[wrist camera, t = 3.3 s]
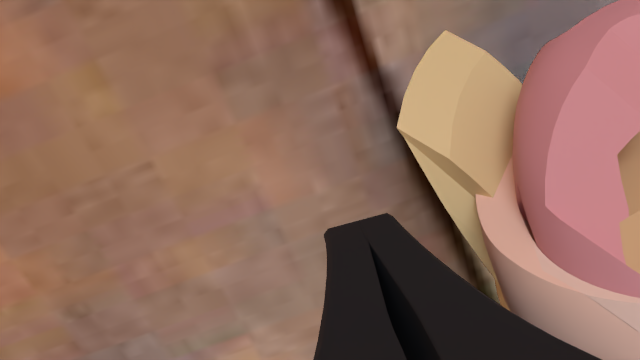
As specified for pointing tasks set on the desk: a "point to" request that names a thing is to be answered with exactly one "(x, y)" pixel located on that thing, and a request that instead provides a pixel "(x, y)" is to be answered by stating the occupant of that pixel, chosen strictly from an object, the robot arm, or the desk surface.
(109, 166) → the desk surface
